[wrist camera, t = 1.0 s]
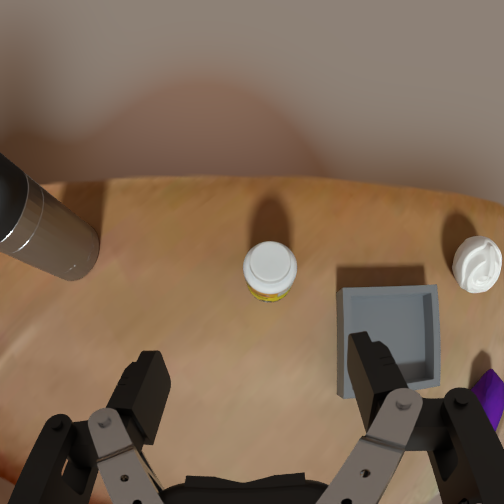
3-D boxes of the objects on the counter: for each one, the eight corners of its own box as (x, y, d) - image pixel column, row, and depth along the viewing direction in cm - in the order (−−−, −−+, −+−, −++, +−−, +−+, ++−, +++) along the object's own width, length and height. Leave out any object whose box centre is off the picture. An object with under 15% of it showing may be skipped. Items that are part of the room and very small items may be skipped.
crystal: (469, 472, 26) (489, 373, 29) (453, 460, 31) (469, 369, 34) (492, 463, 26) (511, 368, 29) (476, 453, 31) (491, 364, 34)
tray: (336, 394, 35) (343, 398, 32) (336, 292, 39) (342, 287, 35) (427, 383, 34) (440, 385, 31) (424, 289, 38) (436, 284, 35)
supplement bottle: (238, 278, 40) (229, 256, 30) (272, 251, 41) (273, 221, 31) (266, 312, 39) (266, 301, 29) (300, 284, 39) (311, 264, 30)
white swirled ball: (443, 294, 38) (473, 283, 30) (441, 243, 40) (468, 224, 33) (483, 296, 37) (514, 286, 30) (480, 248, 39) (508, 232, 32)
